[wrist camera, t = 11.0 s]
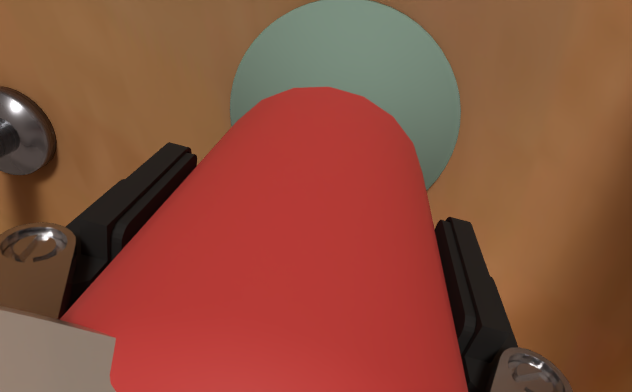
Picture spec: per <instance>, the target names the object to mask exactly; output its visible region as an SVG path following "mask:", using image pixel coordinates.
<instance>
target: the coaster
mask: <svg viewBox="0 0 632 392" xmlns="http://www.w3.org/2000/svg"><path fill="white" fill-rule="evenodd" d="M304 87H332V88H336V89H339V90H343V91H346V92H350V93H353V94H356V95H360V96H363V97H365V98H367V99H368V100H370V101H371V102H372V103H374V104H375V105H377V106H378V107H380V108H381V109H383V110H384V111H386V112H387V113H389V114H390V115H392V116H393V117H394V118H395V120H396V121H397V122H398V124H399V125H400V126H401V128H402V129H403V130H404V132H405V133H406V134H407V136H408V137H409V138H410V140H411V141H412V142H413V144H414V147H415V150H416V154H417V157H418V160H419V163H420V166H421V170H422V173H423V178H424V182H425V187H426V190H428V189H429V188H430V186H431V185H432V184H433V183H434V182H435V181H436V180H437V179H438V177H439V176H440V174H441V173H442V171H443V170H444V168H445V167H446V165H447V163H448V161H449V159H450V157H451V155H452V153H453V150H454V147H455V144H456V141H457V137H458V132H459V127H460V114H461V108H460V96H459V91H458V87H457V83H456V79H455V76H454V74H453V71H452V69H451V66H450V64H449V62H448V60H447V59H446V57H445V55H444V53H443V52H442V50H441V48H440V47H439V46H438V44H437V43H436V42H435V41H434V39H433V38H432V37H431V35H430V34H428V33H427V32H426V31H425V30H424V29H423V28H422V27H421V26H420V25H419V24H418V23H416V22H415V21H414V20H412V19H411V18H410V17H408V16H407V15H405V14H403V13H401V12H400V11H398V10H396V9H394V8H392V7H390V6H387V5H384V4H381V3H378V2H375V1H370V0H320V1H316V2H312V3H308V4H306V5H303V6H301V7H299V8H296V9H294V10H292V11H290V12H289V13H287V14H285V15H283V16H282V17H280V18H278V19H277V20H276V21H274V22H273V23H272V24H271V25H269V26H268V27H267V28H266V29H265V30H264V31H263V32H262V33H261V34H260V35H259V36H258V37H257V38H256V39H255V40H254V41H253V43H252V44H251V46H250V47H249V49H248V50H247V51H246V53H245V55H244V57H243V59H242V61H241V63H240V65H239V67H238V69H237V72H236V75H235V78H234V81H233V86H232V91H231V100H230V117H231V126H233V125H234V124H235V123H236V122H237V121H238V120H239V119H240V118H241V117H242V116H243V115H245V114H246V113H247V112H248V111H249V110H251V109H252V108H253V107H254V106H255V105H256V104H258V103H259V102H260V101H261V100H263V99H265V98H268V97H271V96H273V95H276V94H279V93H281V92H284V91H287V90H289V89H292V88H304Z"/></svg>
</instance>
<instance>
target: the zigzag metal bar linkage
mask: <svg viewBox="0 0 632 392" xmlns="http://www.w3.org/2000/svg"><path fill="white" fill-rule="evenodd" d="M55 150H56V138H55V133H54V130H53V127H52V125H51V123H50V121H49V119H48V118H47V116H46V115H45V113H44V112H43V111H42V109H41V108H40V107H39V106H38V105H37V104H36V103H35V102H34V101H32V100H31V99H30V98H28V97H27V96H26V95H24V94H22V93H20V92H18V91H16V90H14V89H11V88H7V87H1V86H0V171H3V172H5V173H9V174H13V175H26V174H30V173H32V172H34V171H36V170H38V169H39V168H41V167H43V166H44V165H46V164H47V163H48V162H50V160H51V159H52V158H53V156H54V153H55Z"/></svg>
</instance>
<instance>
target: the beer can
mask: <svg viewBox="0 0 632 392" xmlns="http://www.w3.org/2000/svg"><path fill="white" fill-rule="evenodd" d="M60 320H62V321H66V322H70V323H74V324H78V325H81V326H84V327H87V328H91V329H94V330H97V331H99V332H102V333H105V334H107V335H109V336H112V337H114V338H116V342H115V347H114V353H113V359H112V365H111V370H110V382H111V385H112V386H113V388H114V389H115V391H116V392H468V388H467V383H466V378H465V373H464V368H463V364H462V359H461V354H460V349H459V345H458V340H457V335H456V330H455V325H454V321H453V316H452V311H451V306H450V302H449V297H448V292H447V287H446V283H445V278H444V273H443V268H442V263H441V259H440V254H439V249H438V244H437V240H436V235H435V230H434V225H433V221H432V216H431V211H430V206H429V201H428V197H427V192H426V187H425V182H424V178H423V173H422V170H421V166H420V163H419V160H418V157H417V154H416V150H415V147H414V144H413V142H412V141H411V140H410V138H409V137H408V136H407V134H406V133H405V132H404V130H403V129H402V128H401V126H400V125H399V124H398V122H397V121H396V120H395V118H394V117H393V116H392V115H390V114H389V113H387V112H386V111H384V110H383V109H381V108H380V107H378V106H377V105H375V104H374V103H372V102H371V101H370V100H368V99H367V98H365V97H363V96H360V95H356V94H353V93H350V92H346V91H343V90H339V89H336V88H332V87H304V88H292V89H289V90H287V91H284V92H281V93H279V94H276V95H273V96H271V97H268V98H265V99H263V100H261V101H260V102H259V103H258V104H256V105H255V106H254V107H253V108H252V109H251V110H249V111H248V112H247V113H246V114H245V115H243V116H242V117H241V118H240V119H239V120H238V121H237V122H236V123H235V124H234V125H233V126H232V127H231V129H230V130H229V131H228V132H227V133H226V134H225V135H224V136H223V137H222V139H221V140H220V141H219V142H218V143H217V144H216V145H215V146H214V148H213V149H212V150H211V151H210V152H209V153H208V154H207V155H206V156H205V158H204V159H203V160H202V161H201V162H200V163H199V164H198V165H197V167H196V168H195V169H194V170H193V171H192V172H191V173H190V174H189V175H188V177H187V178H186V179H185V180H184V181H183V182H182V183H181V184H180V186H179V187H178V188H177V189H176V190H175V191H174V192H173V193H172V194H171V196H170V197H169V198H168V199H167V200H166V201H165V202H164V203H163V205H162V206H161V207H160V208H159V209H158V210H157V211H156V212H155V213H154V215H153V216H152V217H151V218H150V219H149V220H148V221H147V222H146V224H145V225H144V226H143V227H142V228H141V229H140V230H139V231H138V232H137V234H136V235H135V236H134V237H133V238H132V239H131V240H130V241H129V243H128V244H127V245H126V246H125V247H124V248H123V249H122V250H121V251H120V253H119V254H118V255H117V256H116V257H115V258H114V259H113V260H112V262H111V263H110V264H109V265H108V266H107V267H106V268H105V269H104V270H103V272H102V273H101V274H100V275H99V276H98V277H97V278H96V279H95V281H94V282H93V283H92V284H91V285H90V286H89V287H88V288H87V289H86V291H85V292H84V293H83V294H82V295H81V296H80V297H79V298H78V300H77V301H76V302H75V303H74V304H73V305H72V306H71V307H70V308H69V310H68V311H67V312H66V313H65V314H64V315H63V316H62V317H61V319H60Z"/></svg>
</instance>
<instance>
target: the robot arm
mask: <svg viewBox="0 0 632 392" xmlns="http://www.w3.org/2000/svg"><path fill="white" fill-rule="evenodd" d="M196 166H197V156H196V155H195V154H191V149H190V148H189V147H185V146H181V145H177V144H173V143H170V142H169V143H167V144H166V145H165V146H164V147H162V148H161V149H160V150H159V151H158V152H157V153H155V154H154V155H153V156H152V157H151V158H150V159H148V160H147V161H146V162H145V163H144V164H143V165H141V166H140V167H139V168H138V169H137V170H136V171H134V172H133V173H132V174H131V175H130V176H129V177H127V178H126V179H123V180H121V181H119V182H118V183H117V184H116V185H114V186H113V187H112V188H111V189H110V190H109V191H107V192H106V193H105V194H104V195H103V196H101V197H100V198H99V199H98V200H97V201H96V202H94V203H93V204H92V205H91V206H90V207H88V208H87V209H86V210H85V211H84V212H82V213H81V214H80V215H79V216H78V217H77V218H75V219H74V220H73V221H72V222H71V223H69V224H68V225H67V226H66V227H64V226H61V225H57V224H54V223H43V222H42V223H29V224H25V225H20V226H16V227H14V228H12V229H9V230H7V231H5V232H3V233H2V234H0V392H116V391H115V389H114V388H113V386H112V385H111V382H110V370H111V365H112V359H113V353H114V347H115V342H116V338H114V337H112V336H109V335H107V334H105V333H102V332H99V331H97V330H94V329H91V328H87V327H84V326H81V325H78V324H74V323H70V322H66V321H62V320H60V319H61V317H62V316H63V315H64V314H65V313H66V312H67V311H68V310H69V308H70V307H71V306H72V305H73V304H74V303H75V302H76V301H77V300H78V298H79V297H80V296H81V295H82V294H83V293H84V292H85V291H86V289H87V288H88V287H89V286H90V285H91V284H92V283H93V282H94V281H95V279H96V278H97V277H98V276H99V275H100V274H101V273H102V272H103V270H104V269H105V268H106V267H107V266H108V265H109V264H110V263H111V262H112V260H113V259H114V258H115V257H116V256H117V255H118V254H119V253H120V251H121V250H122V249H123V248H124V247H125V246H126V245H127V244H128V243H129V241H130V240H131V239H132V238H133V237H134V236H135V235H136V234H137V232H138V231H139V230H140V229H141V228H142V227H143V226H144V225H145V224H146V222H147V221H148V220H149V219H150V218H151V217H152V216H153V215H154V213H155V212H156V211H157V210H158V209H159V208H160V207H161V206H162V205H163V203H164V202H165V201H166V200H167V199H168V198H169V197H170V196H171V194H172V193H173V192H174V191H175V190H176V189H177V188H178V187H179V186H180V184H181V183H182V182H183V181H184V180H185V179H186V178H187V177H188V175H189V174H190V173H191V172H192V171H193V170H194V169H195V168H196ZM435 235H436V240H437V244H438V249H439V254H440V259H441V263H442V268H443V273H444V278H445V283H446V287H447V292H448V297H449V302H450V306H451V311H452V316H453V321H454V325H455V330H456V335H457V340H458V345H459V349H460V354H461V359H462V364H463V368H464V373H465V378H466V383H467V388H468V392H573V390H572V388H571V386H570V384H569V382H568V380H567V379H566V377H565V376H564V375H563V373H562V372H561V371H560V370H559V369H558V368H557V367H556V366H555V365H554V364H553V363H551V362H550V361H549V360H547V359H546V358H544V357H543V356H541V355H540V354H537V353H535V352H533V351H531V350H528V349H524V348H520V347H518V345H517V342H516V340H515V337H514V334H513V331H512V329H511V326H510V323H509V320H508V318H507V315H506V312H505V309H504V307H503V304H502V301H501V298H500V296H499V293H498V290H497V287H496V285H495V282H494V280H493V278H492V277H490V275H489V272H488V270H487V267H486V264H485V261H484V258H483V255H482V253H481V250H480V247H479V244H478V241H477V239H476V236H475V233H474V230H473V227H472V224H471V223H470V222H467V221H463V220H460V219H456V218H452V217H448V218H447V219H446V221H443V220H440V221H439V222H438V224H437V226H436V228H435Z"/></svg>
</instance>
